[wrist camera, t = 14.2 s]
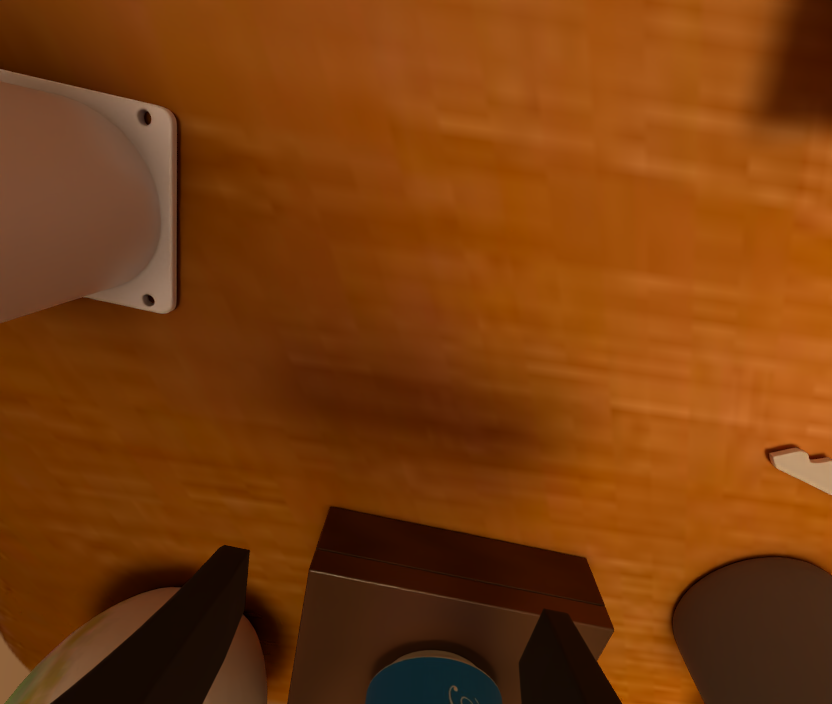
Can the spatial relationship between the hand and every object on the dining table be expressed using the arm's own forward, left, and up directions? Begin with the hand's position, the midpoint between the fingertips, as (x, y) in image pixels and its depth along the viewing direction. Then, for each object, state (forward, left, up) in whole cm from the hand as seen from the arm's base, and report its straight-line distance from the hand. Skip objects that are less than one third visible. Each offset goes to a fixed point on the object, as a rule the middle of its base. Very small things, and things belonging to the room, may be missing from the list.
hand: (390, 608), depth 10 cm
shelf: (+4, -13, -10) cm, 17 cm away
